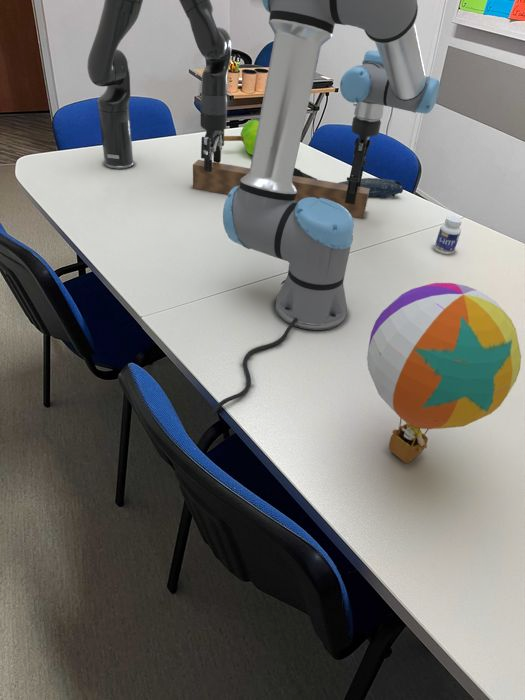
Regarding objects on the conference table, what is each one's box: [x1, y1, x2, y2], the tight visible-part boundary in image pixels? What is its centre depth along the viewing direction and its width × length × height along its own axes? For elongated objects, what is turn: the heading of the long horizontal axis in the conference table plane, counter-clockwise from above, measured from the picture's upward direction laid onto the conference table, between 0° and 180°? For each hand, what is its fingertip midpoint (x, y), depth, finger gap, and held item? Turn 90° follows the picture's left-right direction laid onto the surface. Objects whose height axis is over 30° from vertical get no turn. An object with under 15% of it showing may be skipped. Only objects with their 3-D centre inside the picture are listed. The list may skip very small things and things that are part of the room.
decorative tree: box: [224, 119, 259, 156], centre depth 187 cm, size 18×10×30 cm
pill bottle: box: [434, 215, 463, 255], centre depth 137 cm, size 5×5×9 cm
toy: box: [366, 282, 522, 464], centre depth 73 cm, size 20×20×30 cm
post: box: [192, 159, 370, 219], centre depth 156 cm, size 53×5×7 cm, turn 75°
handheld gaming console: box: [293, 167, 318, 180], centre depth 171 cm, size 12×7×10 cm
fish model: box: [338, 177, 404, 198], centre depth 166 cm, size 7×21×5 cm, turn 84°
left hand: (212, 166), depth 158 cm, fingers open, 8 cm apart
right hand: (352, 195), depth 151 cm, fingers open, 13 cm apart
